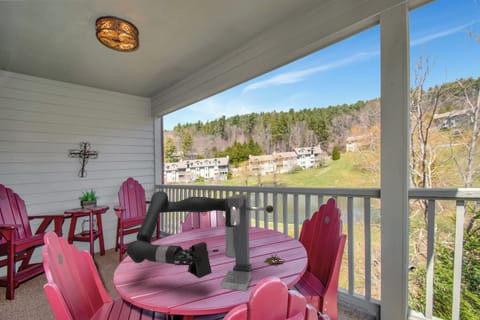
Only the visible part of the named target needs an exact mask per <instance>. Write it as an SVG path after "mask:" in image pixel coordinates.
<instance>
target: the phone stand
mask: <svg viewBox="0 0 480 320" xmlns="http://www.w3.org/2000/svg"><path fill="white" fill-rule="evenodd" d="M190 247H191V256H192V257H202V263H192V264H190V263H189V265H188V266H187V272H188V273H189V274H191V275H193V276H195V277H196V278H198V279H202V278H204V277H205V276H209V275H210V274H212V272H213V271H212V267H211V262H210V258H209V251H208V245H207V242H206V241H202V242H198V243H195V244H192V245H191V246H190ZM207 251H208V252H207Z"/></svg>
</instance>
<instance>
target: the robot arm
mask: <svg viewBox="0 0 480 320" xmlns="http://www.w3.org/2000/svg"><path fill="white" fill-rule="evenodd" d="M150 198H151V199H150V203H149V206H148V209H147V212H146V215H145V216H144V219H143V222H142V224H141V225H140V227H139V230H138V231H137V233H136V240H134V241H132V242H130V243H129V244H127V246H126V249H125V250H126V254H127V256H128V257H129V258H130V259H131V260H132V261H133V262H134V263H135V264H141V263H143V262H144V261H145V260H146V261H148V262H152V263H160V264H167V265H174V266H189V263H190V264H192V263H202V257H192V256H191V246H190V247H188V249H187V248H186V249H183V247H182V246H181V245H172V244H163V245H162V244H153V243H152V238H153V236H154V233H155V231H156V228H157V224H158V220H159V215H160V213H161V214H162V213H163V214H164V213H177V212H178V213H199V214H201V213H209V212H216V211H217V212H219V211H220V212H224V213H225V215H224V217H225V218H224V220H225V221H224V231H225V232H224V233H225V256H227V257H228V258H235V225H231V207H228V198H229V197H228V198H227V197H226V198H214V197H207V196H189V197H186V198H185V199H181V200H179V201H178V200H177V201H169V195H168V193H166V192H165V191H162V190H161V191H160V190H159V191H156V192H154V193H153V195H151V197H150ZM207 252H208V253H209V251H208V250H207Z"/></svg>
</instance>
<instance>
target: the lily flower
mask: <svg viewBox="0 0 480 320" xmlns="http://www.w3.org/2000/svg"><path fill="white" fill-rule="evenodd" d="M270 255H271V257H267V258H265V259H266V260H263V263H268V266H269V265H271V264H272V265H274V266H276V265H275V264H277V263H278V264H277V266H276V267H278V266H279V264H282V263H283V264H284V261H279V260H284V259H283V258H281V257H279V255H278V254H277V253H275V255H272V253H270ZM277 255H278V256H277ZM272 260H274V261H275V260H277V261H275V262H274V261H272ZM273 263H274V264H273ZM283 264H282V265H283Z"/></svg>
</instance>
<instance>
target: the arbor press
mask: <svg viewBox="0 0 480 320" xmlns="http://www.w3.org/2000/svg"><path fill="white" fill-rule="evenodd" d="M228 207H231V225H235V257H234V258H235V260H234V261H235V264H234V266H233V268H232V270H228V271H227V272H226V274H225V275H224V277H223V278H222V280H221V281H220V288H221V289H228V290H237V291H244V292H245V291H247V289H248V288H249V285H250V282H251V280H252V272H251V271H252V270H253V266H252V265H253V264H252V263H250V233H249V230H250V229H249V211H262V212H264V211H266V212H267V213H269V214H272V213H273V212H274V211H275V210H274V206H272V205H270V204H269V205H267V206H266V207H265V206H264V207H262V206H261V207H260V206H259V207H258V206H253V207H252V206H249V199H248V197H247V195H246V194H235V195H232V196H230V197H228Z"/></svg>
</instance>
